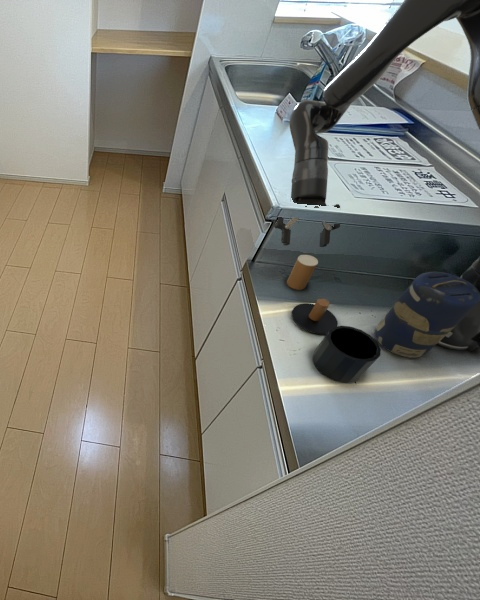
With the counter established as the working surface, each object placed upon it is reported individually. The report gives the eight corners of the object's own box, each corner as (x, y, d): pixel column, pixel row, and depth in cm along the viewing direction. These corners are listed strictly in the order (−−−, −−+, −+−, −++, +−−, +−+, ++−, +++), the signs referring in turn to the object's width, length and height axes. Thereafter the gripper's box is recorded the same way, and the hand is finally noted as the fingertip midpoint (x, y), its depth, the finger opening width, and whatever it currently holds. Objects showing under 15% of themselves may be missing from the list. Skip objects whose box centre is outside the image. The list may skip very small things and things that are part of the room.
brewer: (363, 359, 73) (382, 336, 68) (358, 390, 68) (379, 368, 63) (316, 342, 77) (331, 319, 72) (308, 370, 72) (324, 348, 67)
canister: (433, 363, 71) (502, 301, 58) (381, 357, 73) (437, 296, 60) (412, 328, 78) (470, 266, 65) (364, 324, 79) (411, 263, 67)
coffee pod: (306, 282, 91) (319, 258, 85) (303, 292, 88) (316, 267, 83) (288, 276, 93) (300, 252, 87) (284, 286, 90) (296, 262, 84)
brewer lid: (338, 315, 82) (350, 297, 78) (332, 342, 77) (345, 323, 72) (295, 301, 86) (304, 283, 82) (286, 325, 81) (296, 307, 76)
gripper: (285, 176, 85) (280, 242, 85) (349, 176, 82) (344, 244, 82) (273, 186, 92) (268, 247, 92) (332, 187, 90) (327, 249, 90)
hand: (304, 245), depth 87 cm, fingers open, 8 cm apart
